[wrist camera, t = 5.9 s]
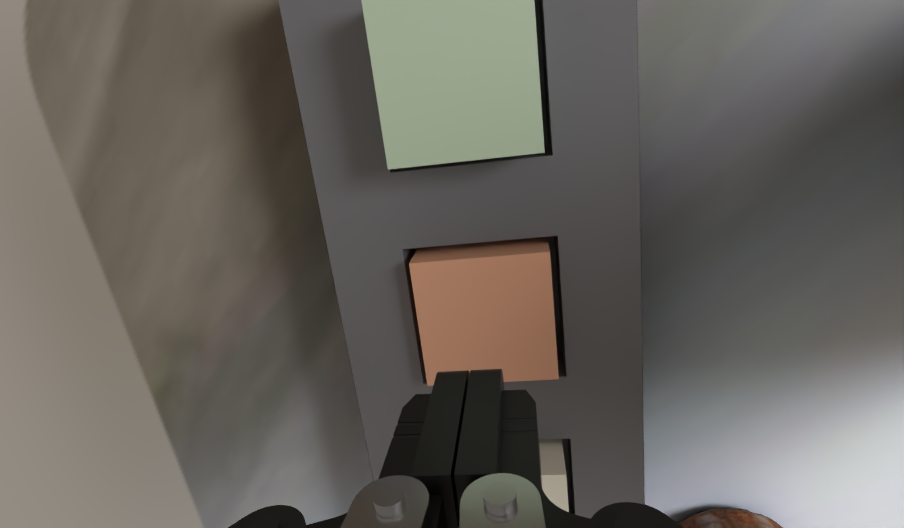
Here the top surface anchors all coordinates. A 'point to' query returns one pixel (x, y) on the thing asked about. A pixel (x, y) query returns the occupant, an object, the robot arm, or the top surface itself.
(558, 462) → the cream button
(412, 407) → the robot arm
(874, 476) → the top surface
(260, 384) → the top surface
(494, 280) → the terracotta button
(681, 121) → the top surface
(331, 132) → the button panel
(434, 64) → the sage button
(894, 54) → the top surface
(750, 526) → the sauce bottle
